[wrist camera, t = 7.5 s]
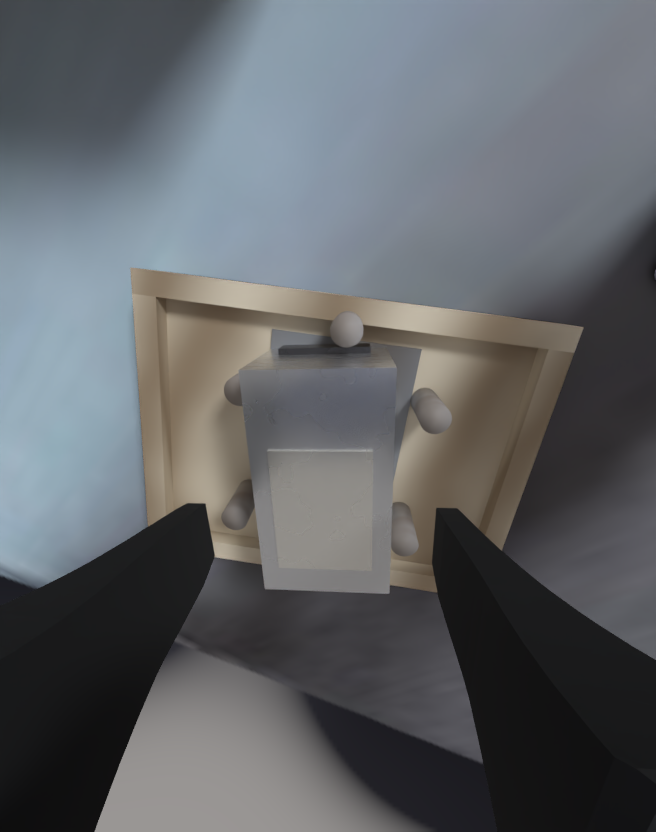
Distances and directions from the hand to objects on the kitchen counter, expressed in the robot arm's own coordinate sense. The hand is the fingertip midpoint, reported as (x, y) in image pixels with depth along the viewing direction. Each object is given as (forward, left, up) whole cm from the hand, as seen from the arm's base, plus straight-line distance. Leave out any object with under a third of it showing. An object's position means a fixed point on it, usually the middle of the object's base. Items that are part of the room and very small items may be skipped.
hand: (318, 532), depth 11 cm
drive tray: (0, 0, -8) cm, 8 cm away
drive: (0, 0, -6) cm, 6 cm away
